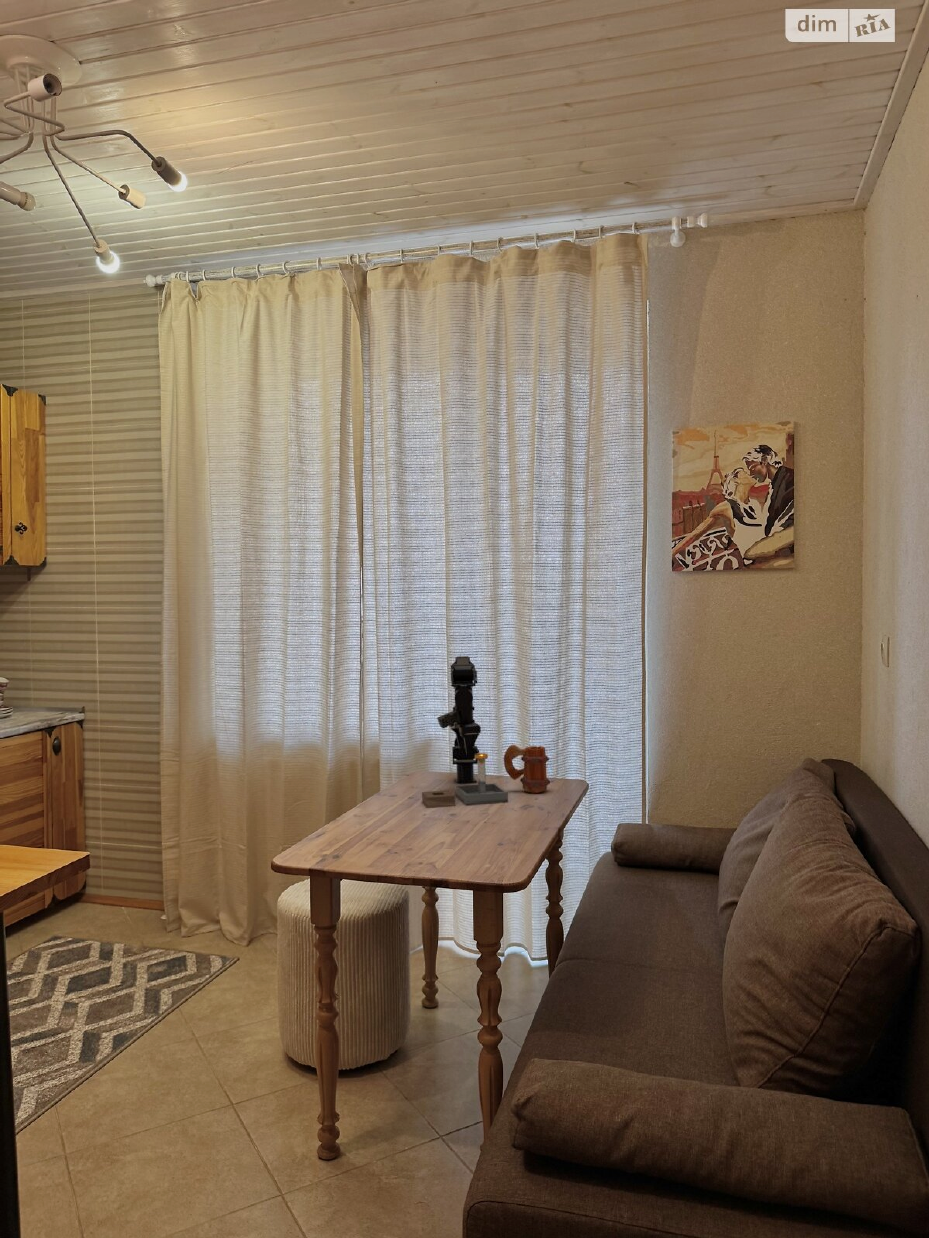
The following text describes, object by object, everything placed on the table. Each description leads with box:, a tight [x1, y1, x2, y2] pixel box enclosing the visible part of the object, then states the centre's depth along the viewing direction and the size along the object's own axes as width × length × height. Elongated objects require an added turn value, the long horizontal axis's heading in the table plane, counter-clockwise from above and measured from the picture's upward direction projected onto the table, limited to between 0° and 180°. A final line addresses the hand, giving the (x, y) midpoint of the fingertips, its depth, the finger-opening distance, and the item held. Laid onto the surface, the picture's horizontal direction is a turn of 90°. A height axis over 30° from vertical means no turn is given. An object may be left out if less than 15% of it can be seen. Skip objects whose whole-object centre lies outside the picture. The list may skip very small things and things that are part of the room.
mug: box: [503, 744, 551, 794], centre depth 290 cm, size 15×8×15 cm, turn 84°
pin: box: [474, 752, 489, 794], centre depth 281 cm, size 4×4×13 cm
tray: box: [455, 783, 509, 806], centre depth 282 cm, size 14×13×3 cm
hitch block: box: [421, 789, 456, 809], centre depth 277 cm, size 8×8×3 cm
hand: (465, 752), depth 291 cm, fingers open, 9 cm apart
